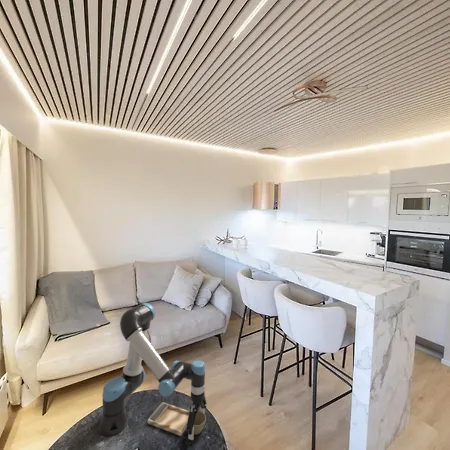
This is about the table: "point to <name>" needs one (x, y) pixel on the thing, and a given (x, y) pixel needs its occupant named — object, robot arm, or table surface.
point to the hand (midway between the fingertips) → (196, 428)
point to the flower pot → (199, 422)
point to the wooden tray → (170, 418)
